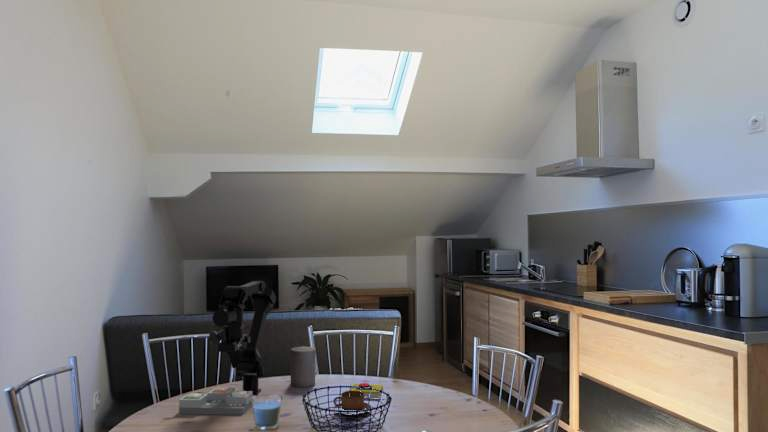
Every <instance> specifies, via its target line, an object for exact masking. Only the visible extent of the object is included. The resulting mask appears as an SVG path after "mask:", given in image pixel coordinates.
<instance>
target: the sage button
mask: <svg viewBox="0 0 768 432" xmlns="http://www.w3.org/2000/svg"><path fill="white" fill-rule="evenodd" d="M188 394H189V395H187V394H186V395H187V396H186V399H200V398H201V397H202V394H203V393H198V392H197V393H196V392H195V393H188Z"/></svg>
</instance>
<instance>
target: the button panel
mask: <svg viewBox="0 0 768 432" xmlns="http://www.w3.org/2000/svg"><path fill="white" fill-rule="evenodd" d="M216 388H217V387H214V388H213V389H211V390H210V391H209V392H207V393H201V394H202V397H201V398H200V399H186V396H187V395H189V394H190V393H187V394H186V395H184V396H182V397H181V398H180V399H179V400H178V414H179V415H181V414H183V415H237V416H238V415H239V416H241V415H244V414H245V413H246V412H247V411H248V410H249V409H250V408H251V407H252V406H253V405H252V401H251V398H252V397H253V396H256V397H257V395H253V391H246V392H247V395H246V396H232V392H235V391H236V388H235V387H228V388H229V391H228V392H227V393H214V389H216ZM251 405H252V406H251Z"/></svg>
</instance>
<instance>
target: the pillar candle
mask: <svg viewBox="0 0 768 432" xmlns="http://www.w3.org/2000/svg"><path fill="white" fill-rule="evenodd" d="M289 383H290V386H291V387H297V388H307V387H312V386H314V385H315V384H316V348H315V347H314V346H296V347H292V348H290V382H289Z"/></svg>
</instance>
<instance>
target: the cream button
mask: <svg viewBox="0 0 768 432" xmlns="http://www.w3.org/2000/svg"><path fill="white" fill-rule="evenodd" d="M246 395H247V392H246V391H242V390H235V392H232V396H246Z"/></svg>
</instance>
